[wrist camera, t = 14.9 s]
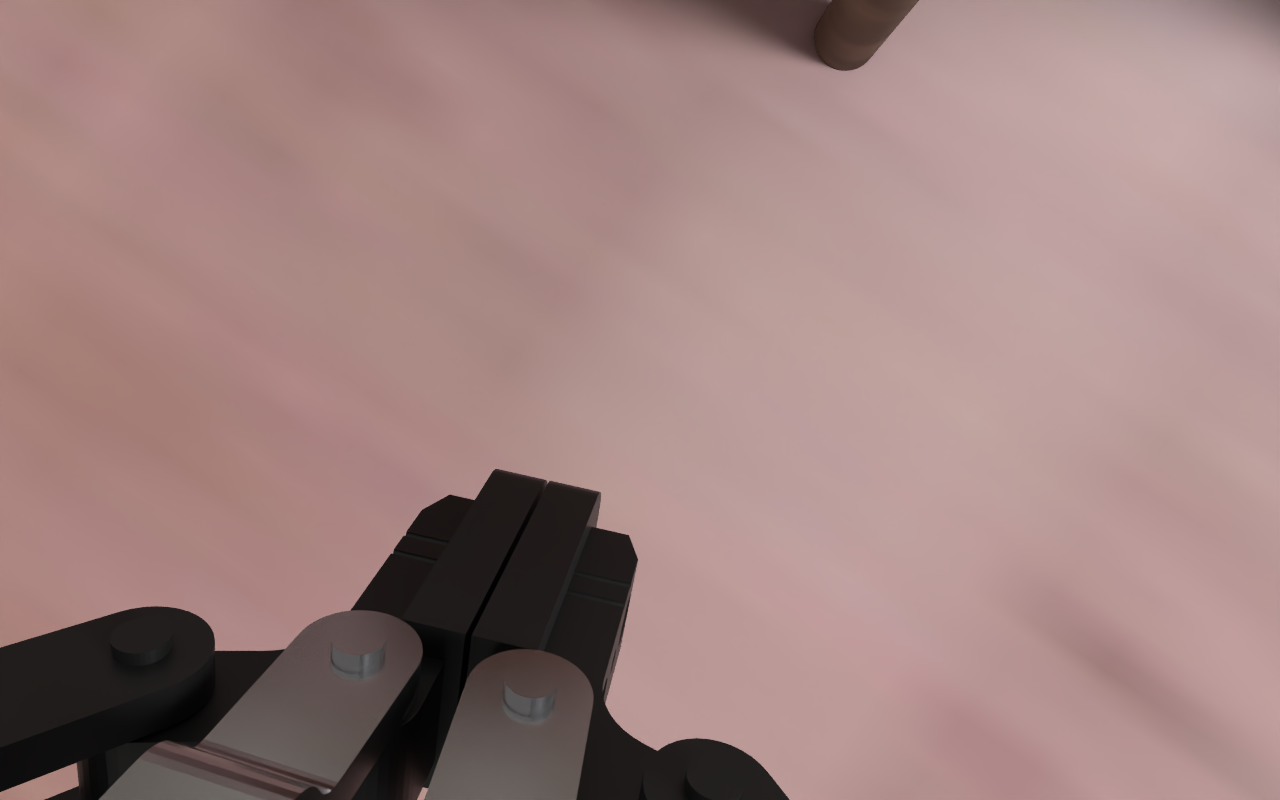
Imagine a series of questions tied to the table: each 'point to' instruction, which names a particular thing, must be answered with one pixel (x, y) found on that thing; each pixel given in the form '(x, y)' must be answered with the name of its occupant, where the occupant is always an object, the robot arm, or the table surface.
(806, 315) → the table surface
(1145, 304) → the table surface
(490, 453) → the table surface
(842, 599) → the table surface
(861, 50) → the stand
